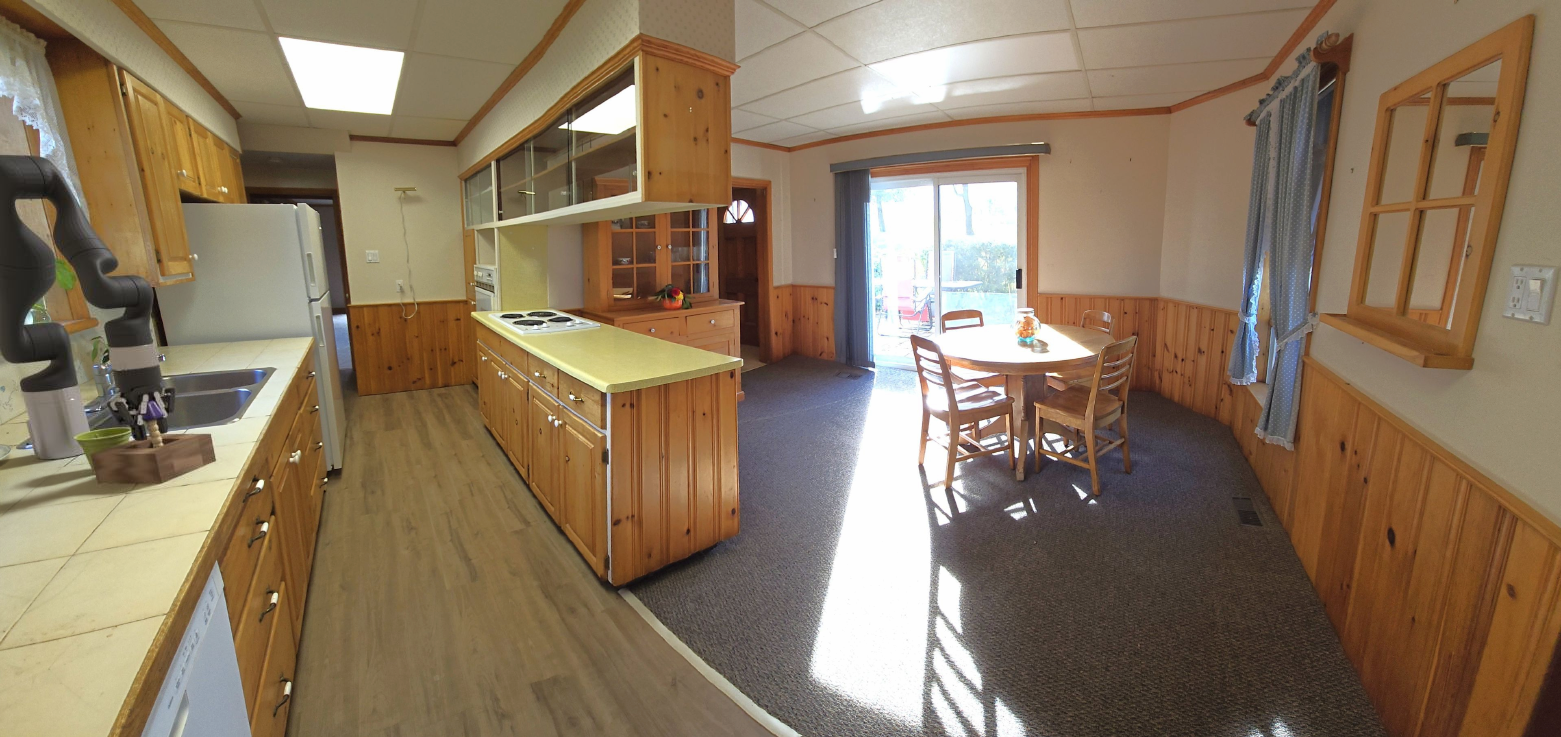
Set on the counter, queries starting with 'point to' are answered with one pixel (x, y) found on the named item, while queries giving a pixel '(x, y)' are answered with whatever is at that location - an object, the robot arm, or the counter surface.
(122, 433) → the plant pot
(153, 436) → the toy lamp
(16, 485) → the counter surface
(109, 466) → the socket block
